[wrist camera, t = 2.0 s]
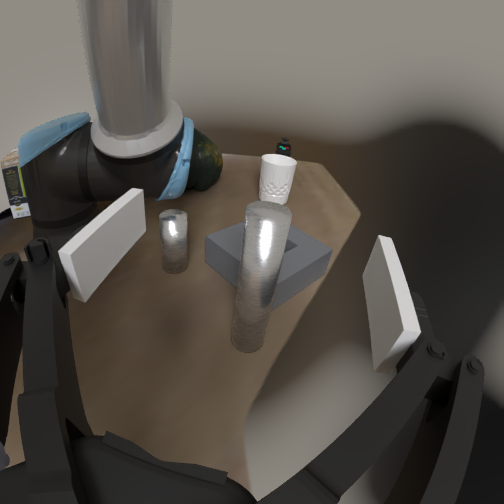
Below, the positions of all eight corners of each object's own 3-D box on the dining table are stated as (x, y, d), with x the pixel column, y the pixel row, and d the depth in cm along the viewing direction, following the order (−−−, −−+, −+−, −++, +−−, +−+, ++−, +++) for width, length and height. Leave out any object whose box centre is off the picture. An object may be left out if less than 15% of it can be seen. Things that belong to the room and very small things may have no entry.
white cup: (266, 189, 74) (272, 151, 68) (294, 199, 71) (302, 161, 65) (249, 198, 69) (255, 158, 63) (279, 210, 66) (287, 168, 60)
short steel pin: (158, 263, 46) (154, 214, 41) (178, 255, 49) (177, 206, 43) (171, 277, 44) (168, 226, 39) (192, 267, 46) (192, 217, 41)
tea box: (74, 192, 64) (67, 135, 55) (67, 211, 56) (57, 147, 48) (24, 200, 58) (14, 146, 50) (12, 220, 51) (-2, 160, 42)
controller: (287, 167, 90) (292, 137, 84) (286, 182, 80) (292, 147, 74) (273, 165, 90) (278, 135, 84) (271, 179, 80) (276, 145, 74)
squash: (193, 184, 59) (219, 123, 60) (139, 173, 63) (165, 118, 64) (217, 205, 73) (237, 152, 74) (168, 193, 77) (189, 144, 78)
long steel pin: (224, 337, 36) (236, 207, 26) (248, 323, 39) (268, 197, 28) (246, 358, 34) (270, 228, 24) (269, 341, 36) (300, 215, 26)
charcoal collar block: (205, 261, 48) (205, 235, 45) (265, 235, 57) (269, 211, 54) (267, 313, 40) (273, 286, 38) (324, 273, 49) (332, 249, 46)
